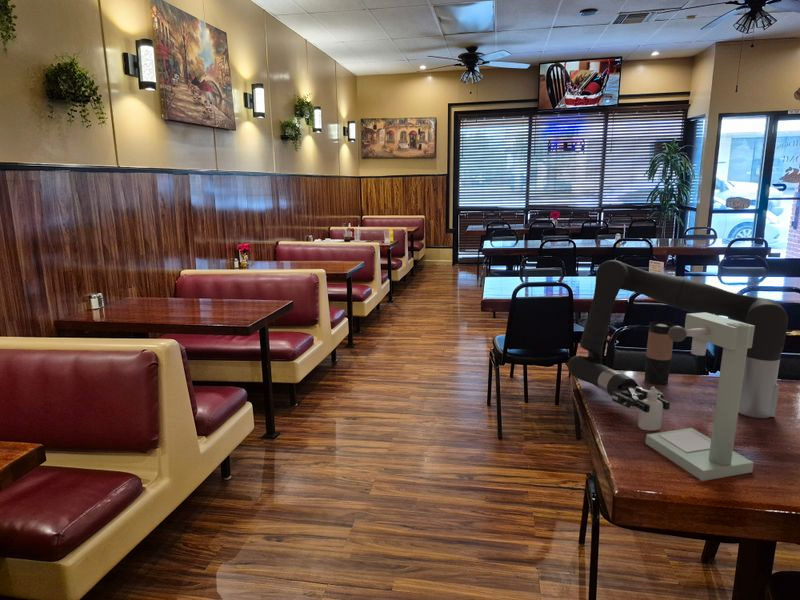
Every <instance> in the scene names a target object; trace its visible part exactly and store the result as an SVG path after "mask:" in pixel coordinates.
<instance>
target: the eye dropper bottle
mask: <svg viewBox="0 0 800 600" xmlns="http://www.w3.org/2000/svg"><path fill="white" fill-rule="evenodd" d="M651 387H652V388H651V390H650V389H648V390H649V391H648V394H647V399H644V400H642V401H643V402H645V403H647V404H649V405H650V410H649V412H647V413H646V412H644V411H642V410H641V409H639V408H638V418H637V419H638V421H637V426H638V427H639V429H641V430H644V431H652V432H653V431H659V430H661V429H662V421H663V420H662V419H663V411H664V409H663V403H662V402H661V401H659V400H657V397H658V392H657V391H655V389H656V388H655V386H651Z"/></svg>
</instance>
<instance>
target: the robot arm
mask: <svg viewBox="0 0 800 600" xmlns="http://www.w3.org/2000/svg"><path fill="white" fill-rule="evenodd" d="M595 273H596V274H595V286H594V293H593V298H592V301H591V307H590V310H589V313H588V316H587V319H586V322H585V324H584V328H583V332H582V335H581V337H580V342H579V346H580V347H581V348H582V349H583V350H585V351H587V353H588V354H587V356H583V355H574V356H572V357H570V359H568V362H567V370H568V372H569V373H570V375H571V376H572V377H574V378H576V379H579V380H581V381H584V382H587V383H589V384H591V385H594V386H595V387H596V388H598V389H600V390H601V391H603V392H604V394H607V395H609V396H610V397H611V401H612V402H614V403H617V404H618V405H621V406H623V407H625V408H629V409H630V408H631V407H632V408H635V409H638V410H639V409H641V410H642V411H644V412H646V413H647V412H649V410H650V405H649V404H647V403H645V402H643V401H642V400H644V399H647V395H648V391H649V390H651V388H652V387H653V386H650V387H649V389H646V388H643V387H641V386H639V384H638V383H637V381H636V380H635V379H634V378H632V377H630V376H628V375H626V374H624V373H622V372H619V371H618V370H614V369H613V368H610V367H608V366H606V365H604V364H603V347H604V344H605V341H606V337H607V333H608V330H609V326H610V322H611V316H612V315H611V314H612V311H613V307H614V304H615V302H616V299H617V296H618V294H619V292H620V290H622V291H628V292H633V293H637V294H639V295H640V294H641V295H643V296H645V297H648V298H650V299H653V300H654V301H656V302H658V303H662V304H663V305H666V306H668V307H672V308H676V309H680V310H683V311H687V312H690V313H704V312H706V313H710V314H713V315H717V316H721V317H725V318H729V319H732V320H735V321H741V322H744V323H746V324H750V325H754V326H755V329H754V336H753V342H752V348H747V355H746V362H745V369H744V376H743V383H742V390H741V397H740V404H739V411H738V414H741V415H743V416H745V417H746V416H747V417H751V418H756V419H767V418H770V417H771V418H775V416H776V409H777V406H778V404H777V403H778V398H779V392H780V385H779V384H778V383H777V382H778V375H779V368H780V362H781V357H782V353H783V351H784V348H785V342H786V335H787V329H788V324H789V323H788V322H789V317H788V314H787V312H786V310H785V309H784V308H783V306H782V304H780V303H779V302H778V301H775V300H773V299H770V298H764V297H758V296H751V295H747V294H746V295H745V294H741V293H736V292H732V291H731V292H730V291H728V290H725V289H722V288H719V287H716V286H713V285H711V284H707V283H704V282H701V281H698V280H697V281H696V280H694V279H689V278H684V277H682V276H676V275H672V274H665V273H659V272H654V271H653V272H651V271H647V270H644V269H640V268H637V267H634V266H632V265H629V264H627V263H625V262H622V261H620V260H616V259H610V260H609V259H608V260H606V261H604V262H602V263H601V264H600V265H599V266H598V267H597V269H596V272H595ZM655 391H657V392H658V397H657V400H659V401H661V402H662V403H663V410H665V411H669V410H670V402H669V401H667V400H665V394H664V393H663V392H661V391H660V390H658V389H657V388H655Z"/></svg>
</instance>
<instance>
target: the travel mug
mask: <svg viewBox="0 0 800 600" xmlns="http://www.w3.org/2000/svg"><path fill="white" fill-rule="evenodd" d="M673 326H675V325H674V324H673V323H671V322H667V321H665V322H662V323H659V322H657V321H651V322H649V326H648V334H647V336H648V337H647V343H646V353H645V367H644V381H645V382H648V383H650V384H653V385H666V384H668V383H669V378H670V369H671V365H672V356H673V347H674V346H673V344H674V341H672V340H671V339H670V338H669V336H668V331H669V329H670V328H671V327H673Z"/></svg>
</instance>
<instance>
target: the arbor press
mask: <svg viewBox="0 0 800 600" xmlns="http://www.w3.org/2000/svg"><path fill="white" fill-rule="evenodd" d="M754 329H755V326H754V325H750V324H746V323H743V322H739V320H736V319H733V318H729V317H725V316H722V315H715V314H710V313H706V312H704V313H696V312H690V313H686V315H685V321H684V327H683V326H681V325H674V326H673V327H671V328H670V329H669V331H668V336H669V338H670V339H671V340H672V341H673V342H675V343H679V342H683V341H685V340H686V337H692V338H691V339H692V342H691V350H690V354H691V355H695V356H701V357H702V356H703V357H704V356H706V352H707V343H709V344H712V345H714V346H718V347H721V348H722V352H721V353H722V354H721V362H720V369H719V375H718V376H719V377H718V384H717V394H716V400H715V406H714V414H713V415H714V416H713V422H712V423H713V424H712V429H711V437H709V436H707V435H705V434H703V433H702V432H699V430H696V429H695V428H693V427H688V428H681V429H674V430H667V431H663V432H653V433H647V434H646V436H645V445H647V446H649V447H650V448H652V449H653V450H655V451H656V452H658V453H659V454H661V455H662V456H664V457H665V458H666V459H668V460H670V461H672V463H674V464H675V465H677V466H679V467H680V468H682V469H683V470H685V471H686V472H688V473H690V474H691V475H692V476H693V477H695V478H697V479H699V480H700V481H701V482H705V481H710V480H715V479H722V478H726V477H733V476H740V475H744V474H749V473H751V474H752V473H753V469H754V461H752V460H751V459H748V458H746V457H745V456H743V455H741V454H739V453H737V452H736V451H734V446H735V444H734V443H735V439H736V431H737V430H736V429H737V425H738V424H737V423H738V417H739V413H738V411H739V404H740V397H741V390H742V383H743V376H744V369H745V362H746V355H747V348H752V342H753V336H754Z"/></svg>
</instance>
